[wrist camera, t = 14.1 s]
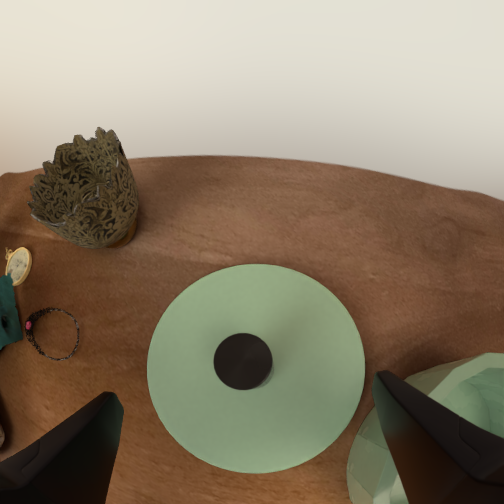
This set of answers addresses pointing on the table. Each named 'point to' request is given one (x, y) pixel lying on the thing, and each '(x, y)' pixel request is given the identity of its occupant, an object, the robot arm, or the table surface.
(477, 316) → the table surface
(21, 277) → the pocket watch
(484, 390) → the pot
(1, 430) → the stone
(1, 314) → the figurine
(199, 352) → the lid
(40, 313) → the necklace
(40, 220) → the cup
